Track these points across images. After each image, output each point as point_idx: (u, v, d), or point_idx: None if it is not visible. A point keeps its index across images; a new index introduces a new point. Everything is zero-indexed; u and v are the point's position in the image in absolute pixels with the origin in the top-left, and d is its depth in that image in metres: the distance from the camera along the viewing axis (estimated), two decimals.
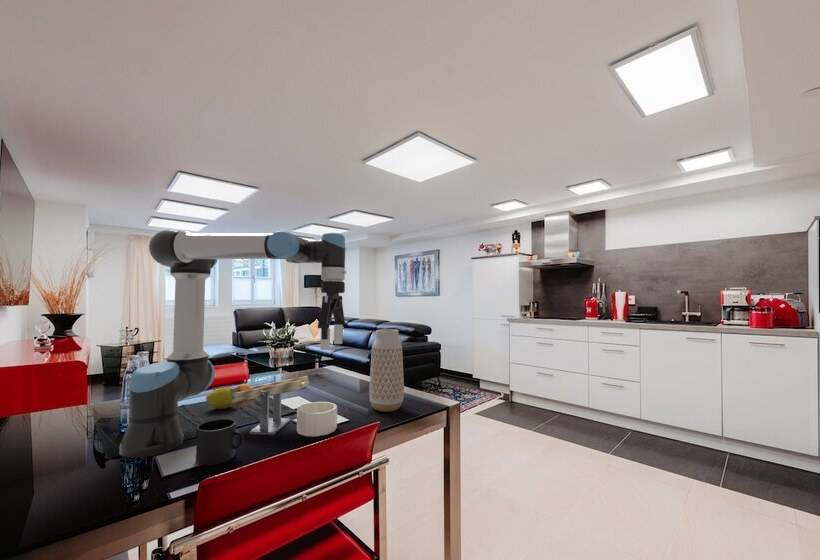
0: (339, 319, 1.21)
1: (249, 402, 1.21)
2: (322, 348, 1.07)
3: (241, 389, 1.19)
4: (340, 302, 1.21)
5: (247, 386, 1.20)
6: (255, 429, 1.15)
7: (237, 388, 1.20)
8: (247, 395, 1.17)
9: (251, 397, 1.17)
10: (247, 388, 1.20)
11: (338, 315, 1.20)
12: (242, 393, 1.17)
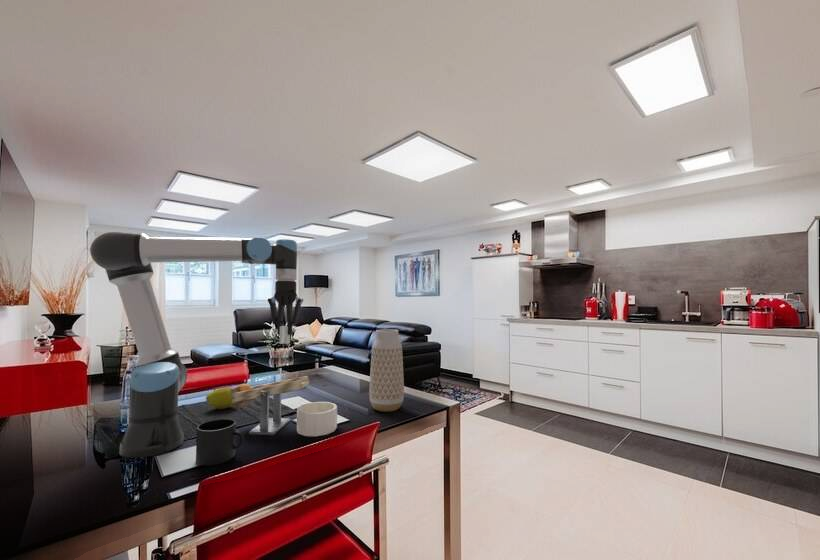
0: None
1: (249, 402, 1.21)
2: None
3: (241, 389, 1.19)
4: (296, 303, 1.32)
5: (247, 386, 1.20)
6: (255, 429, 1.15)
7: (237, 388, 1.20)
8: (247, 395, 1.17)
9: (251, 397, 1.17)
10: (247, 388, 1.20)
11: None
12: (242, 393, 1.17)
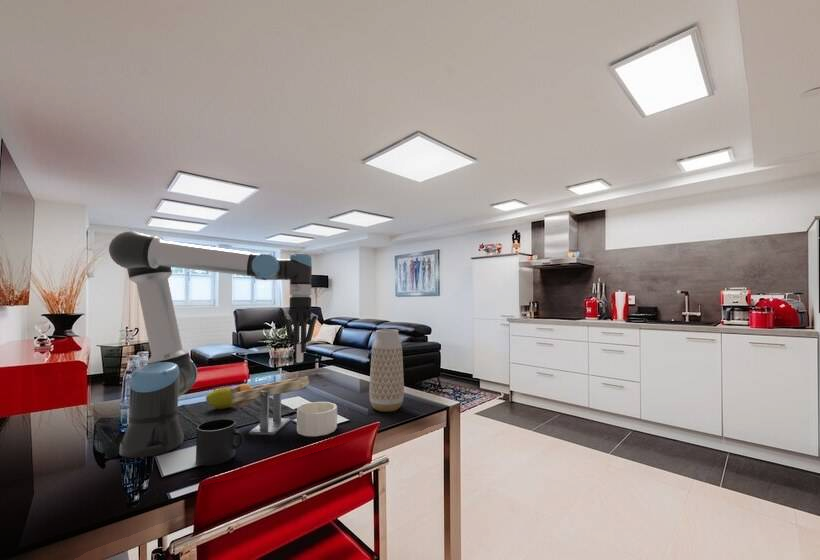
0: None
1: (249, 402, 1.21)
2: None
3: (241, 389, 1.19)
4: (311, 320, 1.27)
5: (247, 386, 1.20)
6: (255, 429, 1.15)
7: (237, 388, 1.20)
8: (247, 395, 1.17)
9: (251, 397, 1.17)
10: (247, 388, 1.20)
11: None
12: (242, 393, 1.17)
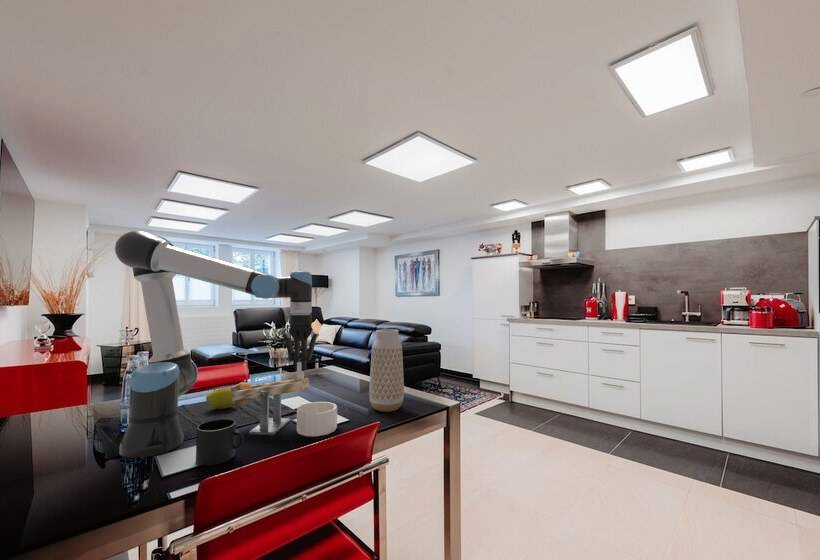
0: None
1: (248, 401, 1.21)
2: None
3: (241, 388, 1.19)
4: (311, 338, 1.27)
5: (247, 385, 1.20)
6: (255, 429, 1.15)
7: (237, 386, 1.20)
8: (247, 394, 1.17)
9: (251, 396, 1.17)
10: (247, 387, 1.20)
11: None
12: (242, 392, 1.17)
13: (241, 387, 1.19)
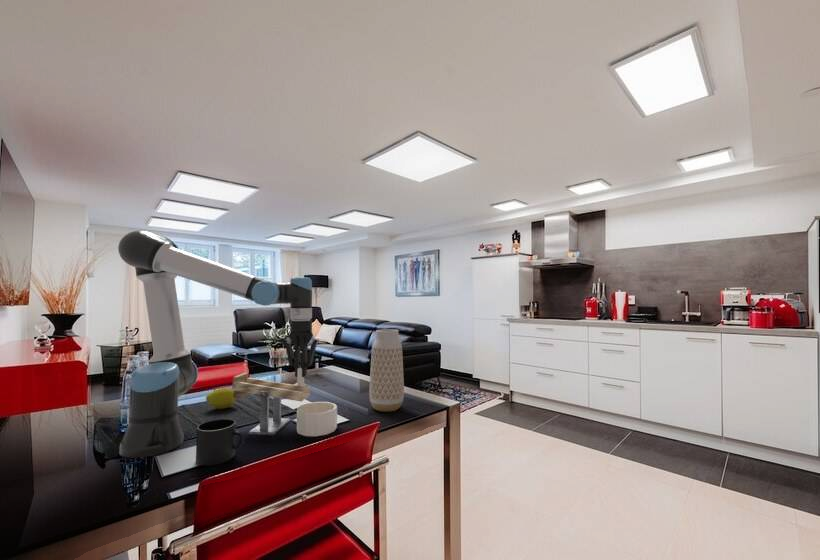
0: None
1: (247, 393, 1.21)
2: None
3: None
4: None
5: None
6: (255, 429, 1.15)
7: (240, 377, 1.20)
8: (248, 388, 1.17)
9: (251, 392, 1.17)
10: None
11: None
12: (244, 385, 1.17)
13: None
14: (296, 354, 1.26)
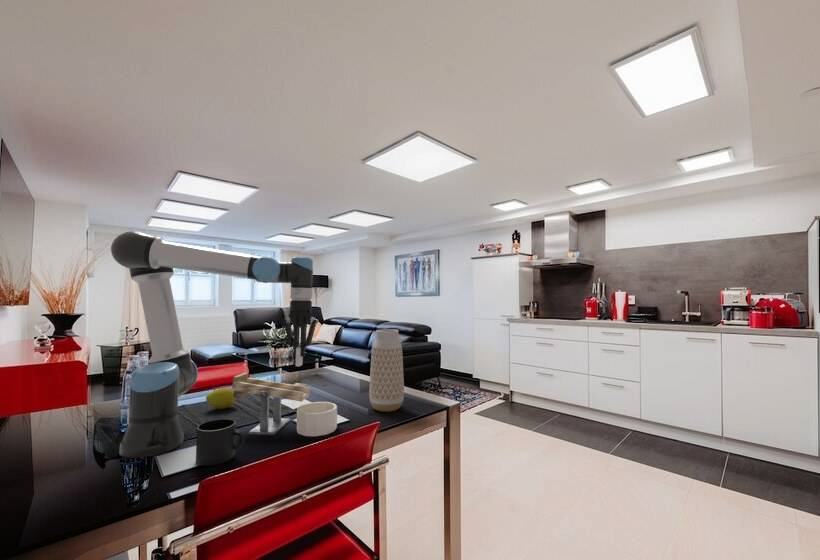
0: None
1: (247, 393, 1.21)
2: None
3: None
4: (311, 324, 1.27)
5: None
6: (255, 429, 1.15)
7: (240, 377, 1.20)
8: (248, 388, 1.17)
9: (251, 392, 1.17)
10: None
11: None
12: (244, 385, 1.17)
13: None
14: (295, 333, 1.27)
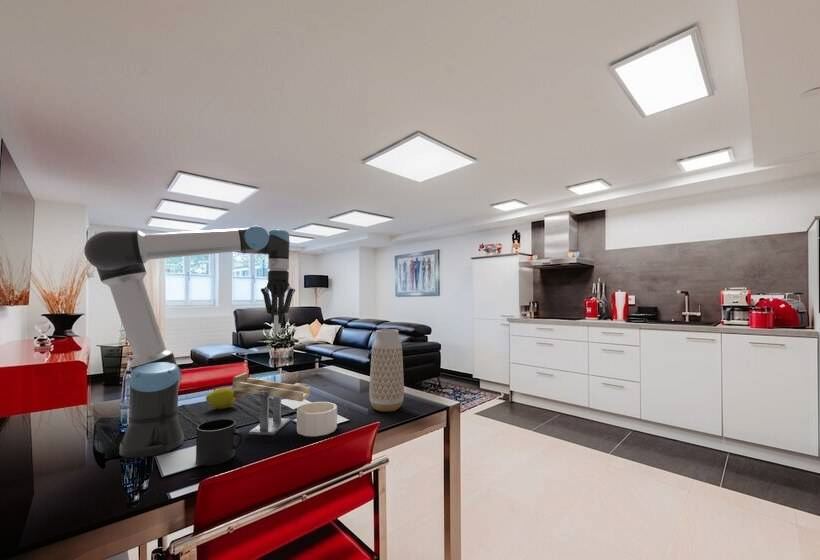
0: None
1: (247, 393, 1.21)
2: None
3: None
4: (288, 292, 1.35)
5: None
6: (255, 429, 1.15)
7: (240, 377, 1.20)
8: (248, 388, 1.17)
9: (251, 392, 1.17)
10: None
11: None
12: (244, 385, 1.17)
13: None
14: (273, 302, 1.35)
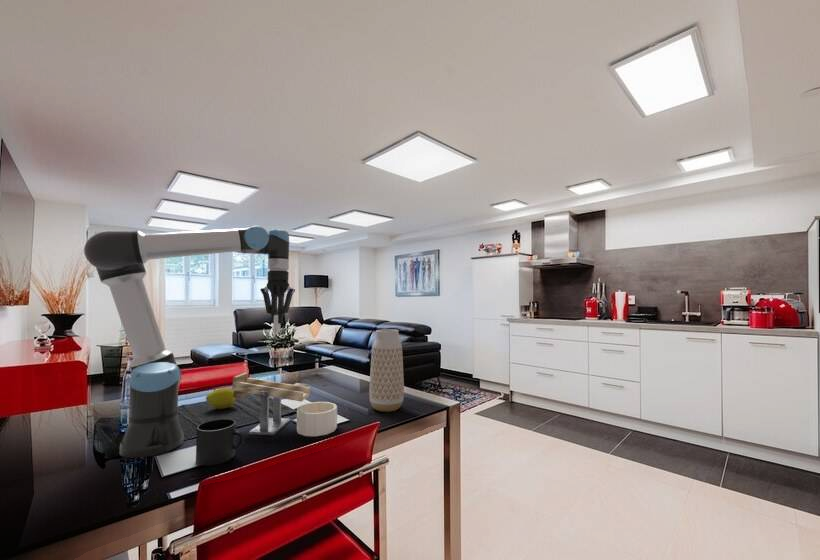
0: None
1: (247, 393, 1.21)
2: None
3: None
4: None
5: None
6: (255, 429, 1.15)
7: (240, 377, 1.20)
8: (248, 388, 1.17)
9: (251, 392, 1.17)
10: None
11: None
12: (244, 385, 1.17)
13: None
14: (273, 302, 1.35)
